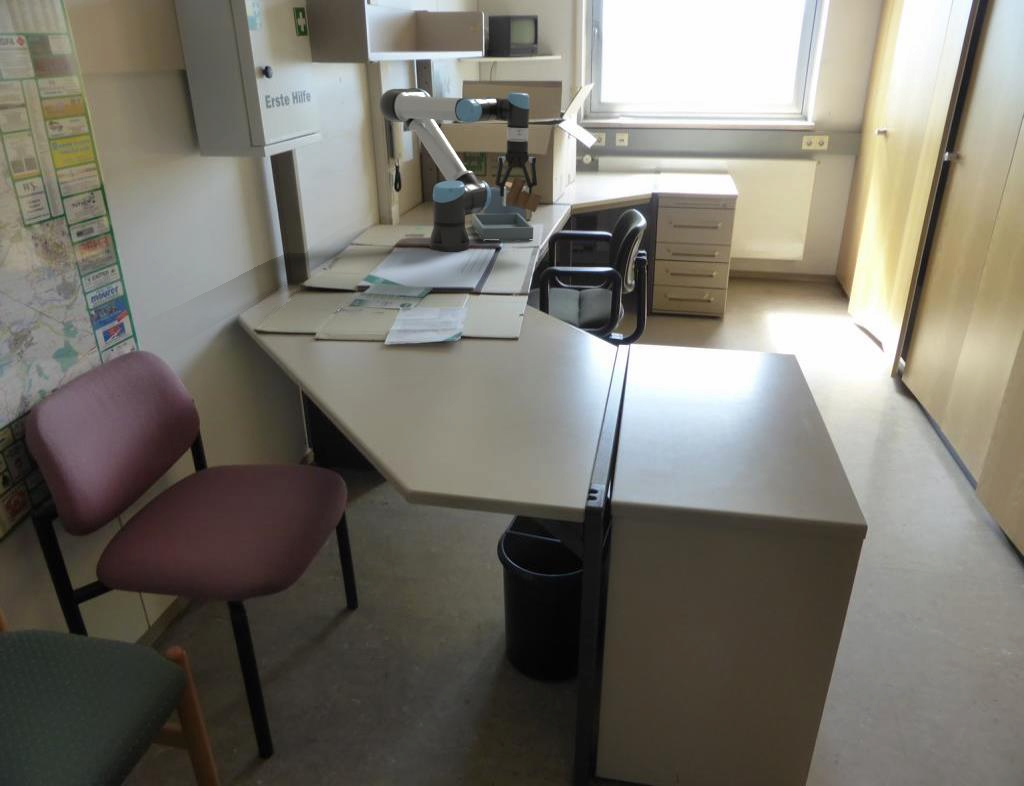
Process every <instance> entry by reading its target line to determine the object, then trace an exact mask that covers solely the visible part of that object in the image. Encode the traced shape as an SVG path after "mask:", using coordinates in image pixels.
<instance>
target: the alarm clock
mask: <svg viewBox="0 0 1024 786" xmlns="http://www.w3.org/2000/svg"><path fill="white" fill-rule="evenodd" d="M512 183H513V182H510V181H509V182H508V181H506V184H505V186H504V187H506V197H507V195H508V193H509V190H510V188H511V186H512ZM525 187H528V185H527V186H526V185H524V187H523V189H522V191H525ZM489 188H490V190H491V201H490V203H489V205H488V207H487V208H486V209H485V210H483V212H484V213H483V214H514V213H519V214H520V215H521V216H522V217H523V218H524V219H525V220H526V221H529V220H531V219H532V218H533V211H531V210H528V209H525V210H523V209H521V208H518V207H516V206H515V207H512V206H510V205H508V204H506V206H503V205H502V202H503V196H500V186H497V185H496V184H495V183H494V186H492V187H489ZM522 191H521V192H522Z"/></svg>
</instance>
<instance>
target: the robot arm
mask: <svg viewBox="0 0 1024 786" xmlns="http://www.w3.org/2000/svg"><path fill="white" fill-rule="evenodd" d="M530 107H531V106H530V95H529V94H528V93H525V92H509V93H508V95H507V97H506V98H503V97H495V96H494V97H492V96H484V97H481V98H477V97H476V98H467V97H463V98H462V97H447V96H446V97H444V96H443V97H442V96H440V97H439V96H431V95H430V94H429V93H428V92H427V91H426V90H424V89H422V88H418V87H410V88H391V89H389V90H387V91H385V92H384V93H383V94H382V96H381V97H380V98H379V110H380V112H381V113H380V114H381V115H382V116H383V117H384V118H385V119H386V120H387V121H390V122H393V123H404V124H405V126H406V127H407V128H408V130H409V131H410V132H414V133H415V134H416V136H417V137H418V138H419V140H420V142H421V144H422V145H423V146H424V148H425V149H426V150H427V152H428V154H429V155H430V157H431V158H432V160H433V161H434V163H435V164H436V166H437V168H438V169H439V171H440V172H441V173H442V175H443V177H444V178H445V181H444V180H443V181H441V182H438V183H436V184H435V185H434V186H433V188H432V189H433V191H432V211H433V217H432V218H433V228H432V231H431V234H430V237H429V241H428V242H429V246H428V247H429V248H430V249H431V250H435V251H438V252H439V251H440V252H459V251H460V252H461V251H466V250H467V249H469V248H470V247H471V246H470V244H471V243H470V238H469V235H468V231H467V227H466V216H467V215H468V216H469V215H472V214H479V213H480V212H482V211H483V212H484V211H485V209H486V208H487V207H488V205H489V203H490V201H491V190H490V188H491V187H490V185H489V184H488V183H487V182H486V181H485V180H481V179H478V178H477V176H476V175H475V172H473V171H471V170H467V168H466V167H465V164H464V163H463V162H462V160H461V159H460V157H459V155H458V154H457V153H456V151H455V149H454V148H453V147H452V145H451V143H450V142H449V140H448V139H447V137H446V136H445V134H444V133H443V131H442V129H441V128H440V127H439V125H438V124H437V122H436V121H452V122H463V123H467V124H472V123H478V122H491V121H492V122H493V121H500V122H501V121H502V122H506V123H507V126H506V127H507V130H506V139H507V140H506V153H505V155H504V156H497V163H498V165H497V171H496V175H495V181H494V185H495V184H496V185H497V186H500V196H503V202H502V205H503V206H506V187H504V186H505V184H506V182H508V179H509V176H510V174H511V172H512V170H513V169H515V168H519V169H521V171H522V173H523V177H524V180H525V181H526V182H525V183H526V184H527V187H525V191H526V192H528V193H530V194H531V192H533V187H536V186H537V185H538V179H537V172H536V162H537V158H536V157H534V156H529V154H528V153H529V152H528V151H529V142H528V139H529V126H530V125H529V119H530V117H529V116H530V109H531V108H530ZM505 161H506V162H507V166H506V169H505V172H504V174H503V177H502V172H503V166H504V163H505ZM527 161H528V162H529V163H530V173H531V174H530V175H531V178H530V176H529V173H528V170H527V166H526V164H527Z"/></svg>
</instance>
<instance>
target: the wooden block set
mask: <svg viewBox="0 0 1024 786" xmlns="http://www.w3.org/2000/svg"><path fill="white" fill-rule="evenodd" d="M512 181H513V182H511V183H512V186H511V188H510V190H509V193H508V195H507V197H506V204H508V205H510V206H512V207H515V206H516V207H518V208H521V209H523V210H525V209H528V210H531V211H532V213H536V211H537V208H538V206H539V204H540V203H541V199H542V195H540V194H539V193H536V192H534V191H532V192H531V194H530V193H528V192H526V191H522V189H523V187H524V186H525V184H526V183H527V182H526V180H525V179H522V178H521V177H519V176H514V179H513V180H512ZM521 191H522V192H521Z"/></svg>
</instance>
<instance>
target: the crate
mask: <svg viewBox="0 0 1024 786" xmlns="http://www.w3.org/2000/svg"><path fill="white" fill-rule="evenodd" d="M471 227H472V228H473V230H474V231H475V230H476V231H477V232H478V234H479V235H480V236H481V238H482V239H483V240H484V239H499V240H502V241H501V242H507V241H509V242H510V241H514V242H515V241H516V240H520V241H530V240H529V239H533V240H534V226H533V225H531V224H530V223H529V222H528V220H525V219H524V218H523V217H522V216H521V215H520V214H519V213H514V214H484V213H473V214H471ZM476 231H475V232H476ZM477 232H476V233H477ZM478 234H477V235H478ZM479 235H478V236H479ZM480 236H479V237H480ZM481 238H480V239H481ZM482 239H481V240H482Z"/></svg>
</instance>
